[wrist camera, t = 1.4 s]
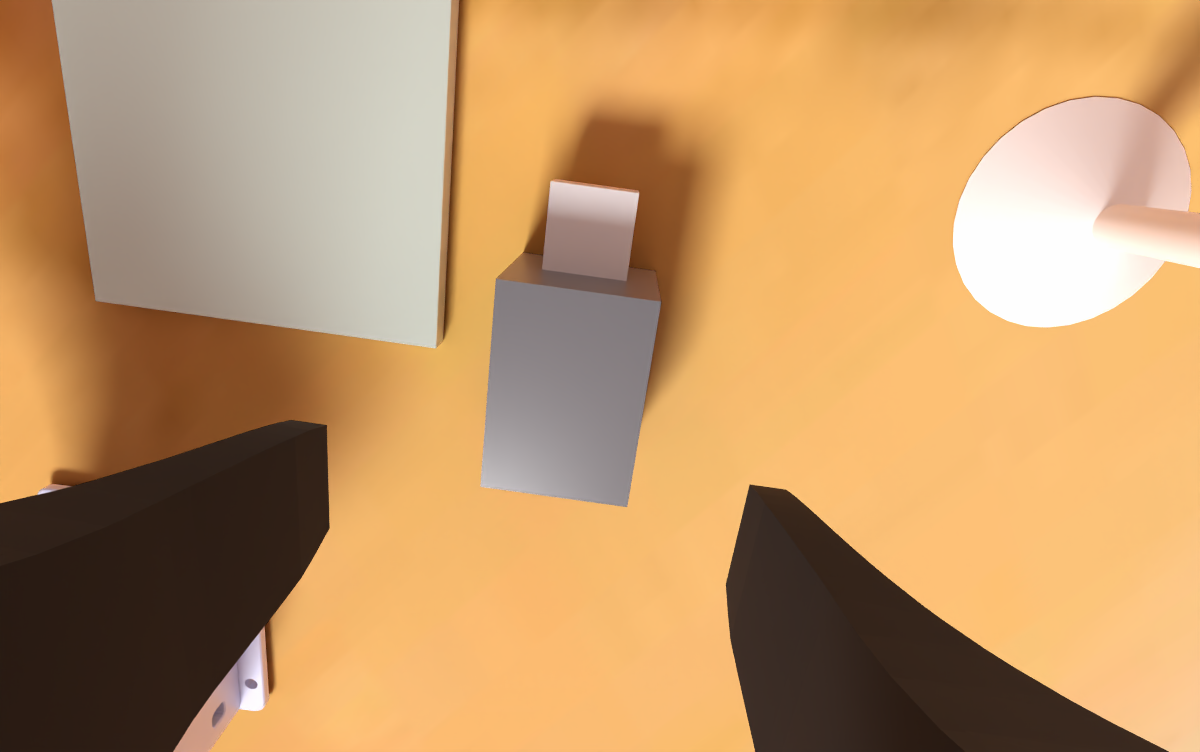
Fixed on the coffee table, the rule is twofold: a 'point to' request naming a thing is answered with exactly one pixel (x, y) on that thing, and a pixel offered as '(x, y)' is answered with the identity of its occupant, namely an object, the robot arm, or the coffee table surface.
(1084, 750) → the robot arm
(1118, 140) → the champagne flute
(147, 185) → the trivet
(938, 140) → the coffee table surface
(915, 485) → the coffee table surface
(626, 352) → the connector plug
